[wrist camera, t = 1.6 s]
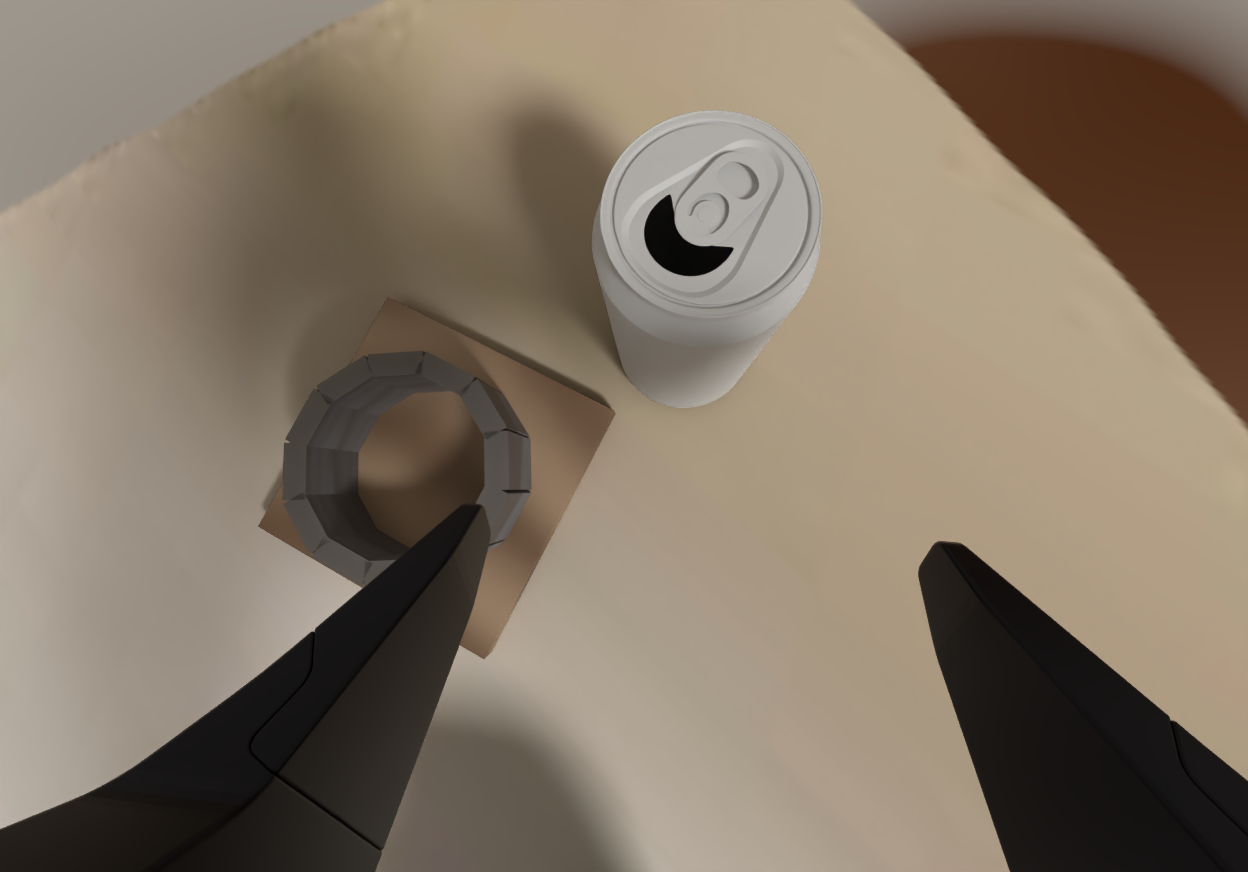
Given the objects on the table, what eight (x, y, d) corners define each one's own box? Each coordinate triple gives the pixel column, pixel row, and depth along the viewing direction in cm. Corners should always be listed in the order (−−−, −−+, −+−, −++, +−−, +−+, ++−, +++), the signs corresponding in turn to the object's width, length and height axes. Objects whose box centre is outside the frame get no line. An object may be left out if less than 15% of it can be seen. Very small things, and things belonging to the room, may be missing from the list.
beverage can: (593, 352, 24) (533, 220, 12) (680, 262, 24) (702, 46, 12) (686, 437, 23) (717, 384, 11) (774, 343, 24) (894, 196, 12)
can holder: (491, 651, 23) (451, 691, 18) (274, 524, 24) (188, 533, 20) (615, 413, 24) (606, 396, 19) (398, 304, 25) (343, 265, 21)
